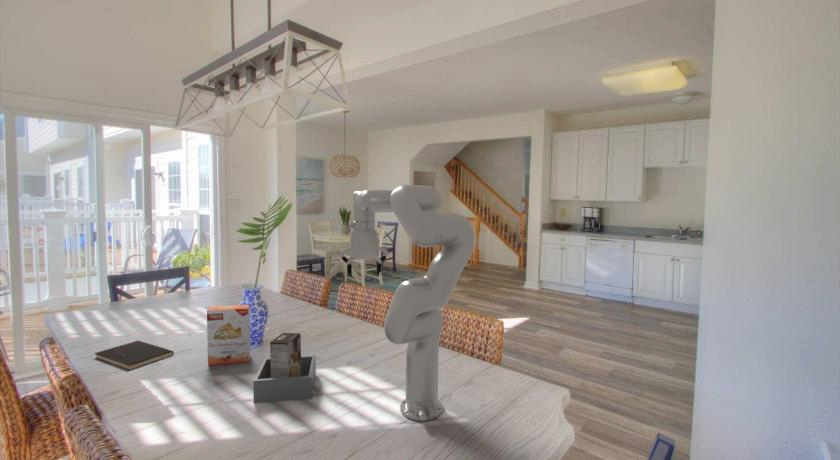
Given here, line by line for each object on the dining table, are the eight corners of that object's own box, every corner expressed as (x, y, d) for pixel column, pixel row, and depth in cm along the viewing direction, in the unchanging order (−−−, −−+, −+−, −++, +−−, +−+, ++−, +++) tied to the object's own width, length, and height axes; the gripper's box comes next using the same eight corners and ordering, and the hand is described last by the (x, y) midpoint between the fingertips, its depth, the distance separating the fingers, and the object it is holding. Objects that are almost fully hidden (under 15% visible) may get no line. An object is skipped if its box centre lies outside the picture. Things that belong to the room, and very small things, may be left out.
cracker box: (207, 366, 147) (205, 310, 145) (211, 360, 153) (209, 306, 151) (249, 362, 151) (247, 308, 149) (251, 356, 157) (249, 303, 155)
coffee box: (283, 378, 136) (283, 331, 135) (301, 379, 136) (301, 332, 134) (270, 391, 127) (269, 341, 126) (289, 392, 127) (289, 342, 125)
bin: (311, 398, 125) (311, 377, 124) (253, 403, 122) (253, 380, 121) (315, 374, 142) (315, 355, 141) (264, 378, 138) (264, 358, 138)
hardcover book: (129, 371, 143) (128, 365, 143) (95, 358, 154) (94, 353, 154) (173, 355, 158) (173, 350, 157) (139, 345, 168) (139, 339, 168)
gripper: (339, 227, 135) (339, 277, 136) (390, 226, 139) (390, 276, 140) (338, 225, 142) (338, 273, 143) (387, 225, 146) (387, 272, 147)
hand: (364, 274), depth 142 cm, fingers open, 9 cm apart
